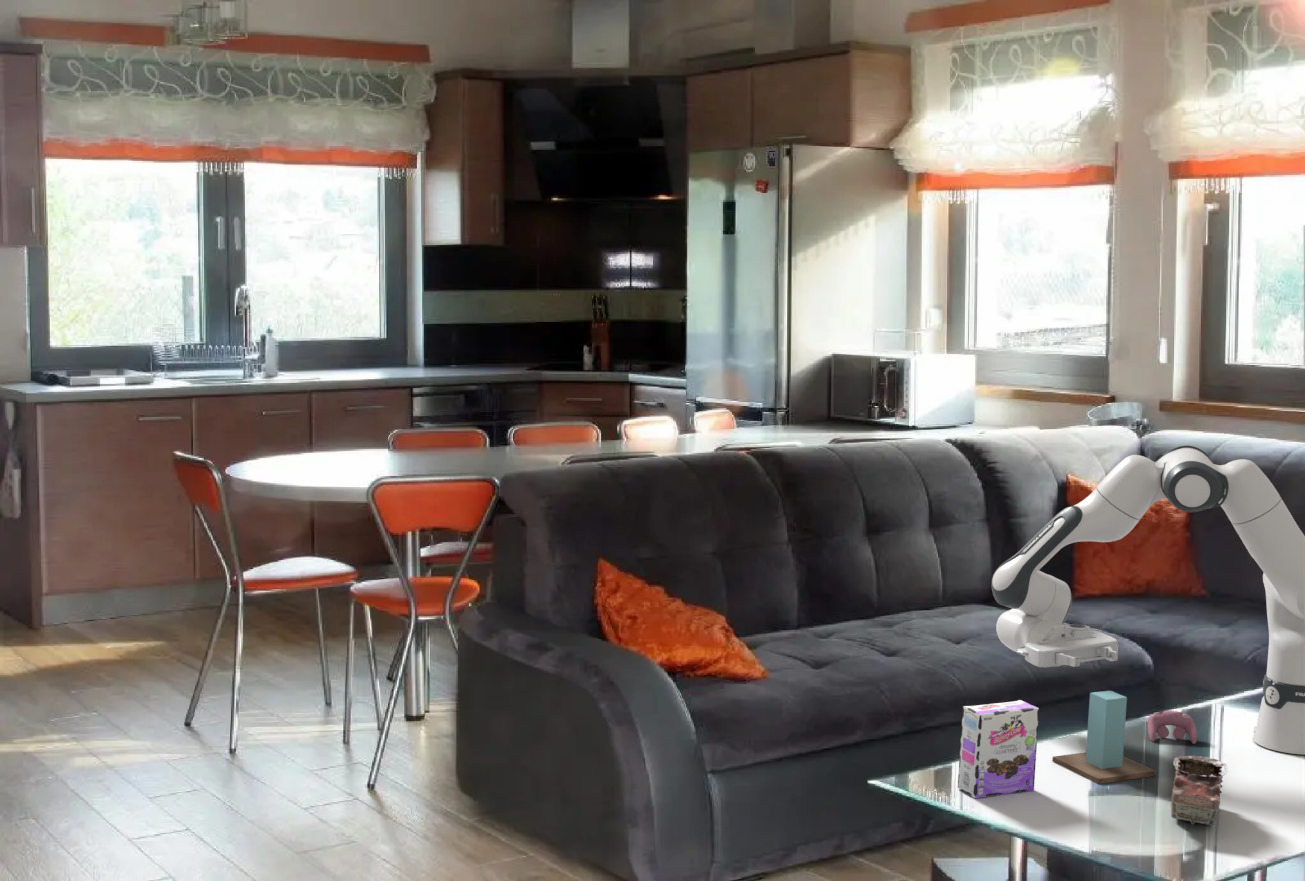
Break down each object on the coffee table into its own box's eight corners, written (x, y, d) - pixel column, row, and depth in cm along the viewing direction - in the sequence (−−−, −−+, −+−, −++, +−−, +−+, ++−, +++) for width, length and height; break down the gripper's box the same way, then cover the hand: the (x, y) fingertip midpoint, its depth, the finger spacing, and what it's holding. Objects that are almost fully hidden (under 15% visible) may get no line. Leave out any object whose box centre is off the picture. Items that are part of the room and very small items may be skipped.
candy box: (974, 799, 312) (979, 714, 310) (956, 789, 318) (961, 705, 315) (1035, 791, 318) (1040, 707, 316) (1016, 781, 323) (1021, 698, 321)
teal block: (1105, 758, 335) (1110, 690, 333) (1122, 766, 331) (1127, 697, 329) (1085, 761, 333) (1090, 692, 331) (1101, 769, 329) (1106, 699, 327)
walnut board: (1107, 753, 341) (1108, 749, 341) (1155, 775, 329) (1155, 770, 329) (1052, 761, 335) (1052, 756, 335) (1098, 783, 323) (1098, 778, 323)
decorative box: (1247, 811, 311) (1252, 760, 309) (1233, 846, 293) (1237, 792, 292) (1174, 798, 316) (1178, 748, 315) (1155, 831, 299) (1159, 779, 297)
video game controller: (1193, 746, 353) (1192, 713, 355) (1198, 743, 349) (1197, 710, 351) (1145, 744, 354) (1144, 711, 356) (1150, 740, 349) (1149, 707, 352)
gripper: (1012, 634, 347) (1054, 650, 334) (1092, 624, 355) (1136, 639, 343) (1012, 664, 348) (1053, 681, 335) (1091, 653, 356) (1135, 669, 343)
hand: (1096, 659), depth 339 cm, fingers open, 8 cm apart
